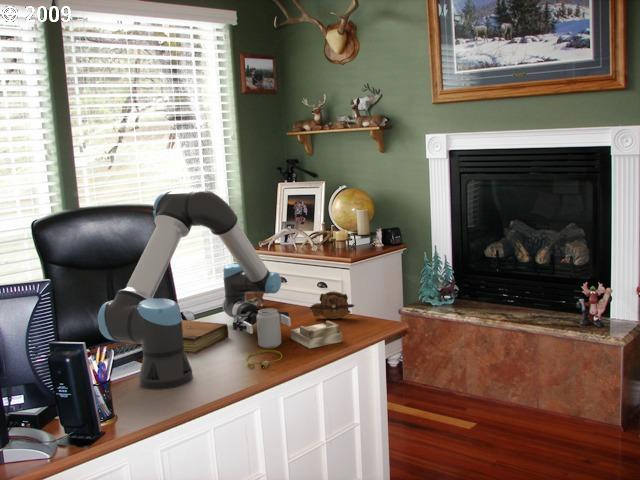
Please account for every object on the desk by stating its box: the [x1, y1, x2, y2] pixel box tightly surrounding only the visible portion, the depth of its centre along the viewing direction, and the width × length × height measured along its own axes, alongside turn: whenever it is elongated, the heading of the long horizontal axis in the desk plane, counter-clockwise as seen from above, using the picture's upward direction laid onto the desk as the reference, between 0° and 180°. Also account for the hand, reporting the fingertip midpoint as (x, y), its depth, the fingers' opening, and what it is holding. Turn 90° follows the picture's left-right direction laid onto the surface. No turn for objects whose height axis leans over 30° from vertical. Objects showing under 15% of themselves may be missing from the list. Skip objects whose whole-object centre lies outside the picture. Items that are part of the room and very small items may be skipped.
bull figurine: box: [246, 292, 265, 307], centre depth 294 cm, size 4×13×8 cm, turn 100°
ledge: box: [290, 320, 343, 349], centre depth 243 cm, size 12×14×6 cm
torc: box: [245, 349, 283, 370], centre depth 226 cm, size 12×16×2 cm
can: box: [256, 307, 282, 349], centre depth 240 cm, size 8×8×12 cm
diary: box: [182, 319, 230, 355], centre depth 250 cm, size 23×19×6 cm
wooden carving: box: [309, 290, 355, 320], centre depth 268 cm, size 16×5×10 cm, turn 83°
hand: (270, 325), depth 239 cm, fingers open, 13 cm apart
